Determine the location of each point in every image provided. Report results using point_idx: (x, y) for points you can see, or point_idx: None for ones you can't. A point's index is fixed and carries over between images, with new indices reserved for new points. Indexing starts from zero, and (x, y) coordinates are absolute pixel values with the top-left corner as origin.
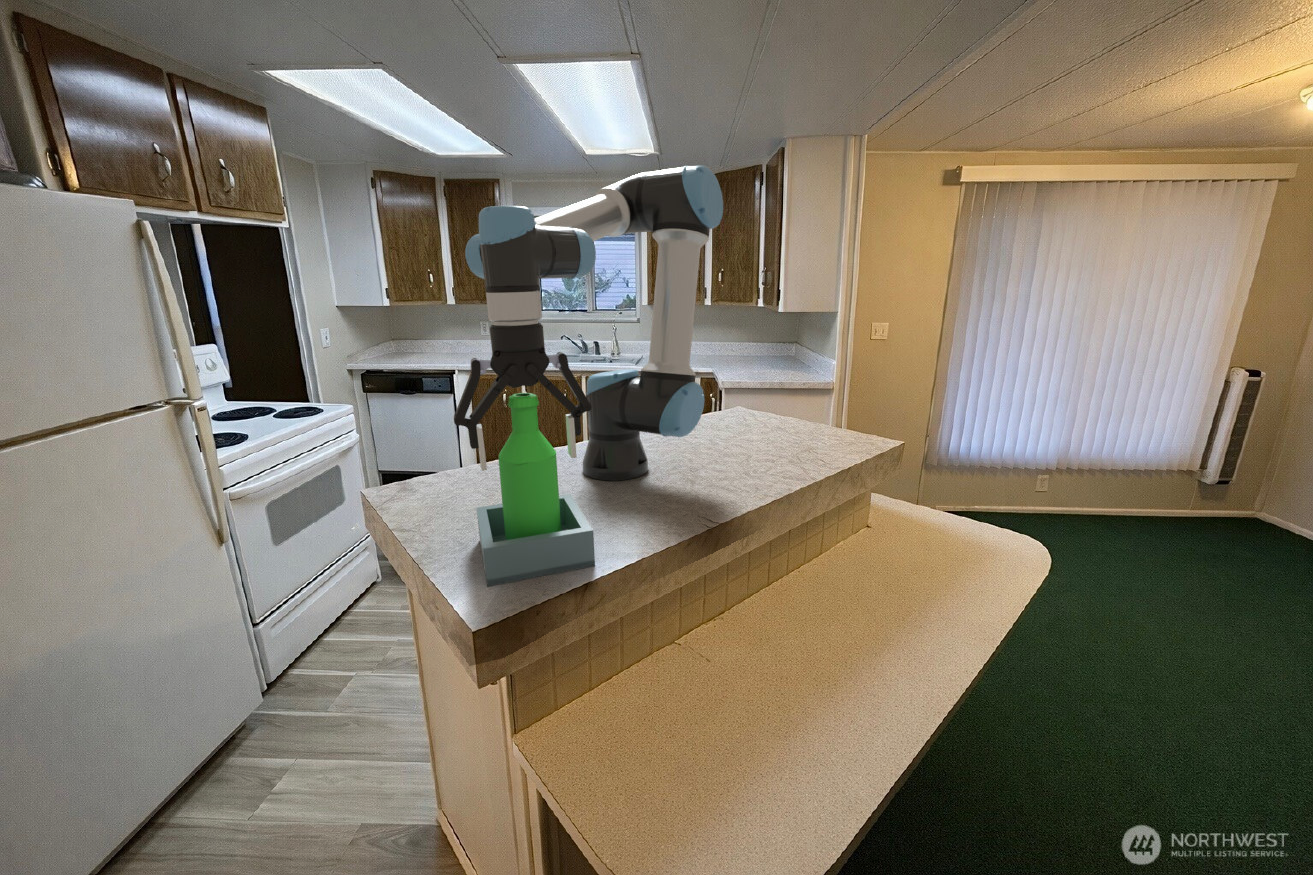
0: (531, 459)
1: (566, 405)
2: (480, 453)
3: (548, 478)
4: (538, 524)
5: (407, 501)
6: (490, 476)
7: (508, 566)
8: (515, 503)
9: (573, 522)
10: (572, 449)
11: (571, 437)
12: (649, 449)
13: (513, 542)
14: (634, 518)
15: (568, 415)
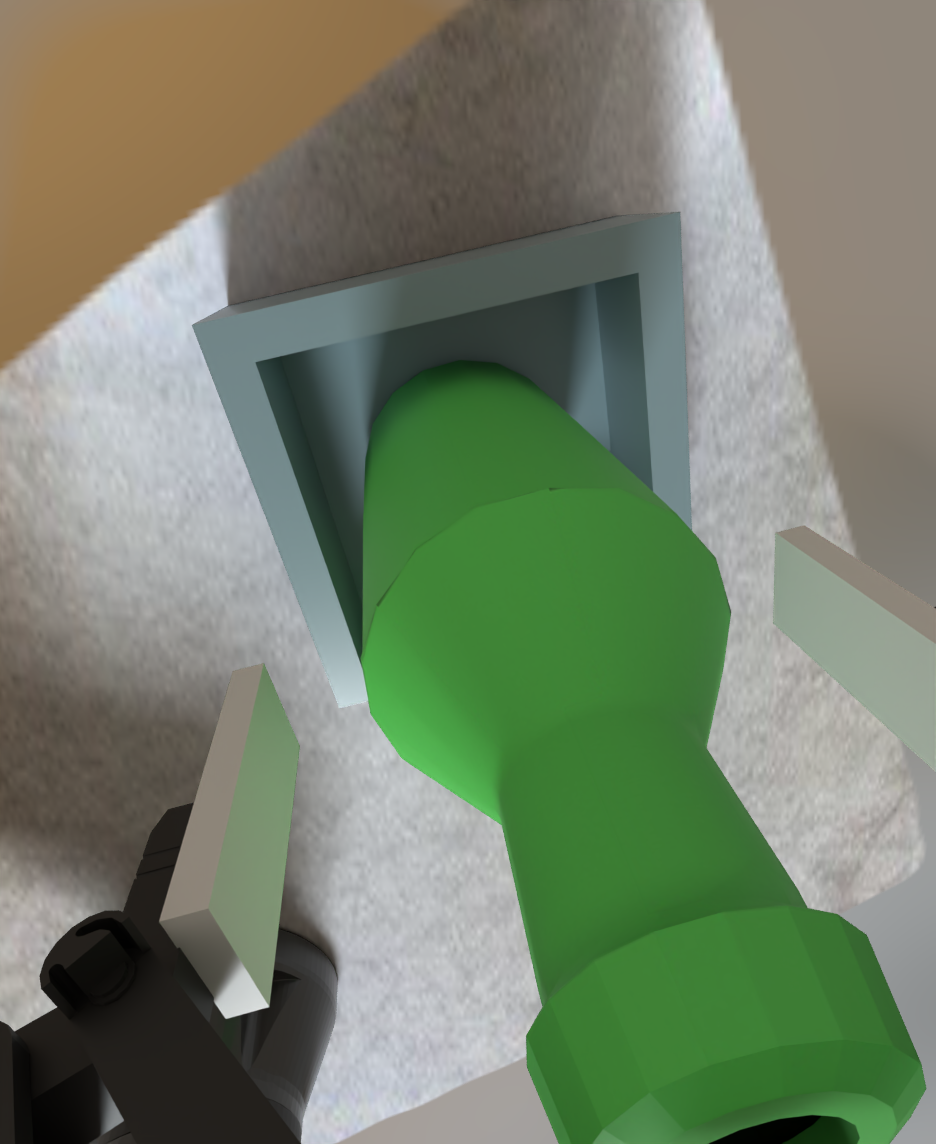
0: (526, 514)
1: (198, 1059)
2: (877, 574)
3: (407, 495)
4: (452, 390)
5: (839, 812)
6: None
7: (556, 233)
8: (571, 425)
9: (313, 504)
10: (246, 703)
11: (232, 765)
12: None
13: (554, 255)
14: (113, 662)
15: (232, 982)
